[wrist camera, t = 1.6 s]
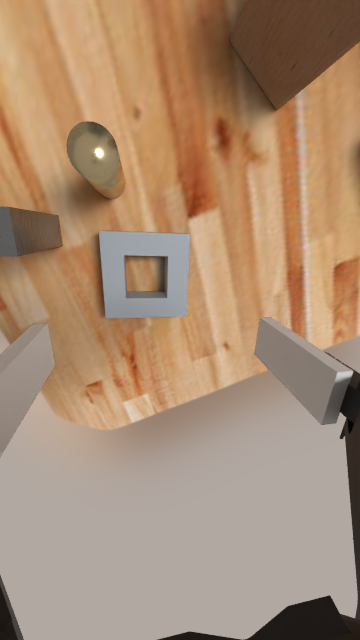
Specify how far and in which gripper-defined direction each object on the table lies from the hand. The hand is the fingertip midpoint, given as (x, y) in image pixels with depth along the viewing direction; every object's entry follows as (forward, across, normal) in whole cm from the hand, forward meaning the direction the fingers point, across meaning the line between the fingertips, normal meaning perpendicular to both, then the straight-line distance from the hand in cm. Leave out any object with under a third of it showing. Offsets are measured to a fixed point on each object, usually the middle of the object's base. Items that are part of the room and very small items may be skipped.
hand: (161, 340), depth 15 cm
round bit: (+24, -5, +12) cm, 28 cm away
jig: (+24, 0, 0) cm, 24 cm away
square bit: (+24, -14, +6) cm, 29 cm away
